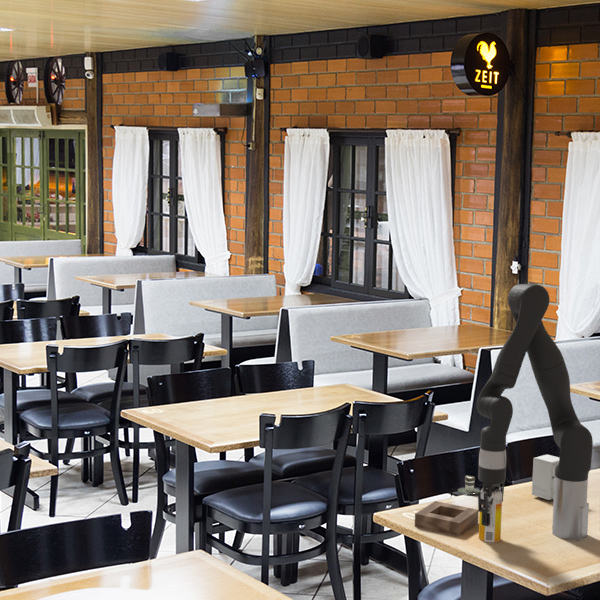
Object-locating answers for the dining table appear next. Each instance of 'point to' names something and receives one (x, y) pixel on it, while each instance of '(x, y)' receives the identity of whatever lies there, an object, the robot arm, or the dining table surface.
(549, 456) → the supplement box
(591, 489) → the dining table surface
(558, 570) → the dining table surface
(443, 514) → the box holder
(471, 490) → the pot lid
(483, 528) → the beer can
